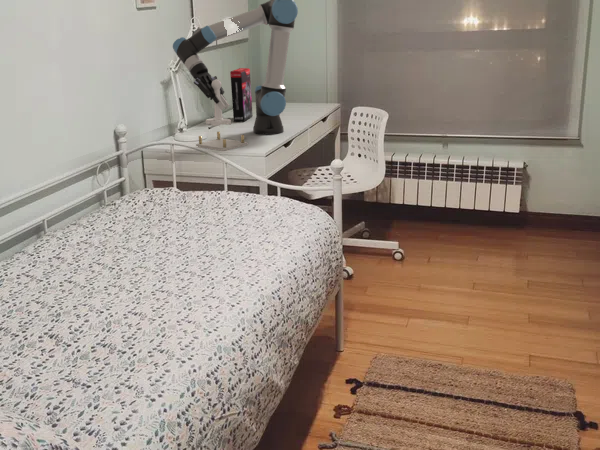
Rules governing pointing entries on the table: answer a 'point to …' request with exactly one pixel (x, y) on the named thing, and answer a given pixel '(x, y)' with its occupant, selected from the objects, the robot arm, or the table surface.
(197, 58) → the robot arm
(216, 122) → the joystick
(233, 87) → the graphics card box
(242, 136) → the plate
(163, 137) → the table surface
